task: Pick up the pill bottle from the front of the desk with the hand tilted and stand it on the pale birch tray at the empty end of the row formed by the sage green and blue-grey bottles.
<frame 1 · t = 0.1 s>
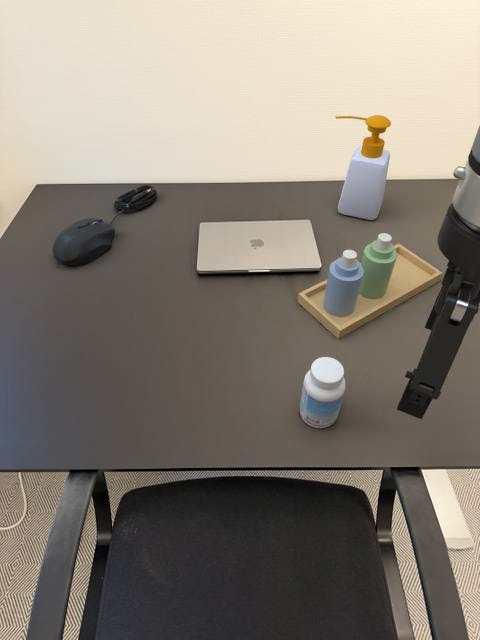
hand: (423, 367, 55), 20 cm above the table, tool pointing down, fingers open, 13 cm apart
green bottle: (370, 288, 93), point 1 cm above the table, touching tray
tray: (369, 291, 93), on the table
soap bottle: (350, 207, 114), on the table
pill bottle: (318, 413, 74), on the table
blue-grey bottle: (338, 305, 89), point 1 cm above the table, touching tray
computer mouse: (111, 228, 108), on the table
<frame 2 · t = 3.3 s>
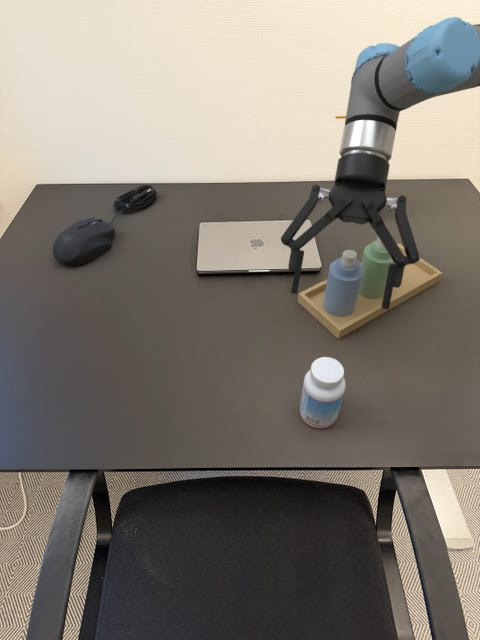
hand: (338, 301, 70), 15 cm above the table, tool tilted 45°, fingers open, 13 cm apart
nothing on the table moved.
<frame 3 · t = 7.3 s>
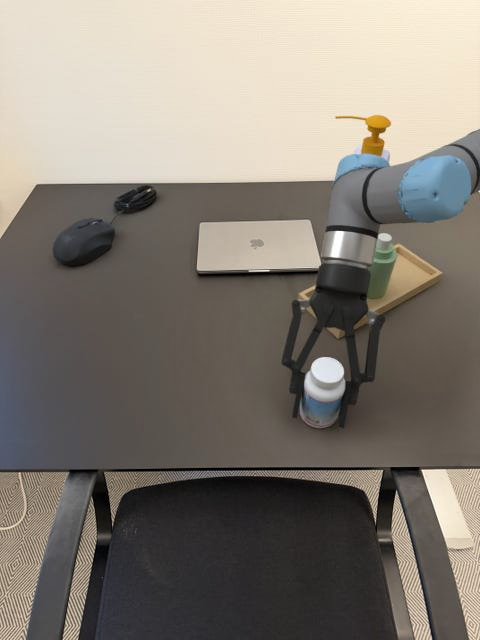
hand: (317, 420, 69), 3 cm above the table, tool tilted 45°, fingers closed on pill bottle, 6 cm apart
pill bottle: (318, 413, 74), on the table, touching gripper
everything else where it was.
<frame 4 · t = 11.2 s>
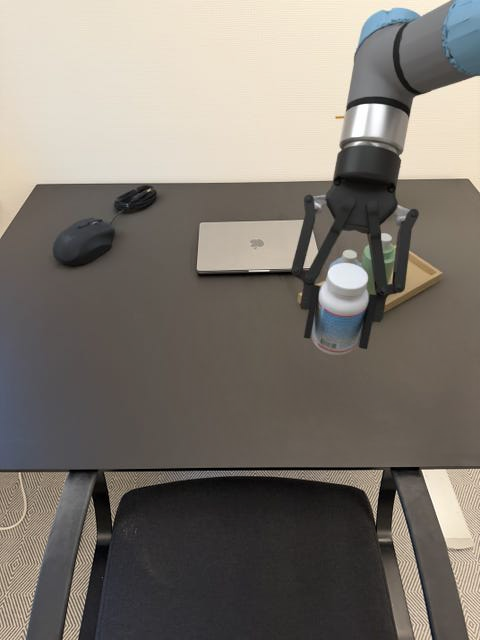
hand: (334, 342, 57), 20 cm above the table, tool tilted 45°, fingers closed on pill bottle, 6 cm apart
pill bottle: (333, 340, 62), point 17 cm above the table, touching gripper
everything else where it was.
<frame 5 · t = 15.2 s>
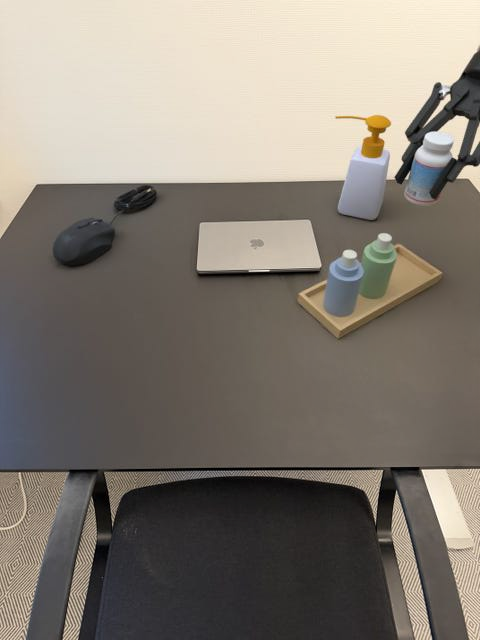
hand: (414, 188, 81), 21 cm above the table, tool tilted 45°, fingers closed on pill bottle, 6 cm apart
pill bottle: (420, 198, 85), point 17 cm above the table, touching gripper
everything else where it was.
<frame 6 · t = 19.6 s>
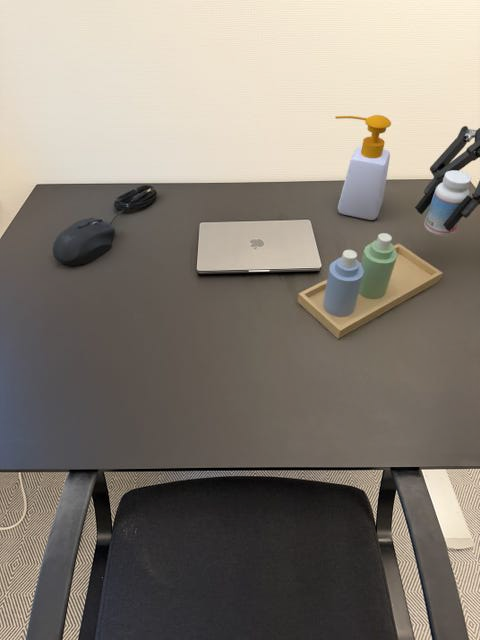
hand: (432, 219, 90), 12 cm above the table, tool tilted 45°, fingers closed on pill bottle, 6 cm apart
pill bottle: (438, 228, 94), point 8 cm above the table, touching gripper
everything else where it was.
when the fingers open (4 cm above the table, at t = 23.1 s): pill bottle stays where it is, resting on tray.
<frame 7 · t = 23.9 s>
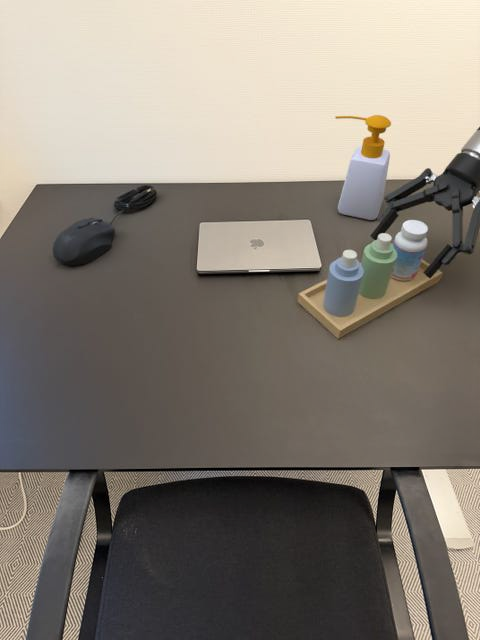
hand: (399, 256, 91), 6 cm above the table, tool tilted 45°, fingers open, 13 cm apart
pill bottle: (400, 273, 96), point 1 cm above the table, touching tray
everything else where it was.
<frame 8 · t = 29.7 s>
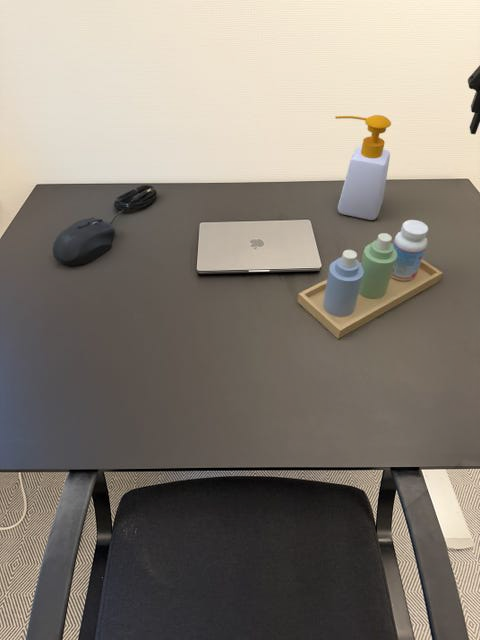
nothing on the table moved.
at the end: pill bottle 0.1 cm from the target spot in the tray, point 0.6 cm above the tray's base; pill bottle tilted 0°; the gripper is holding nothing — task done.
